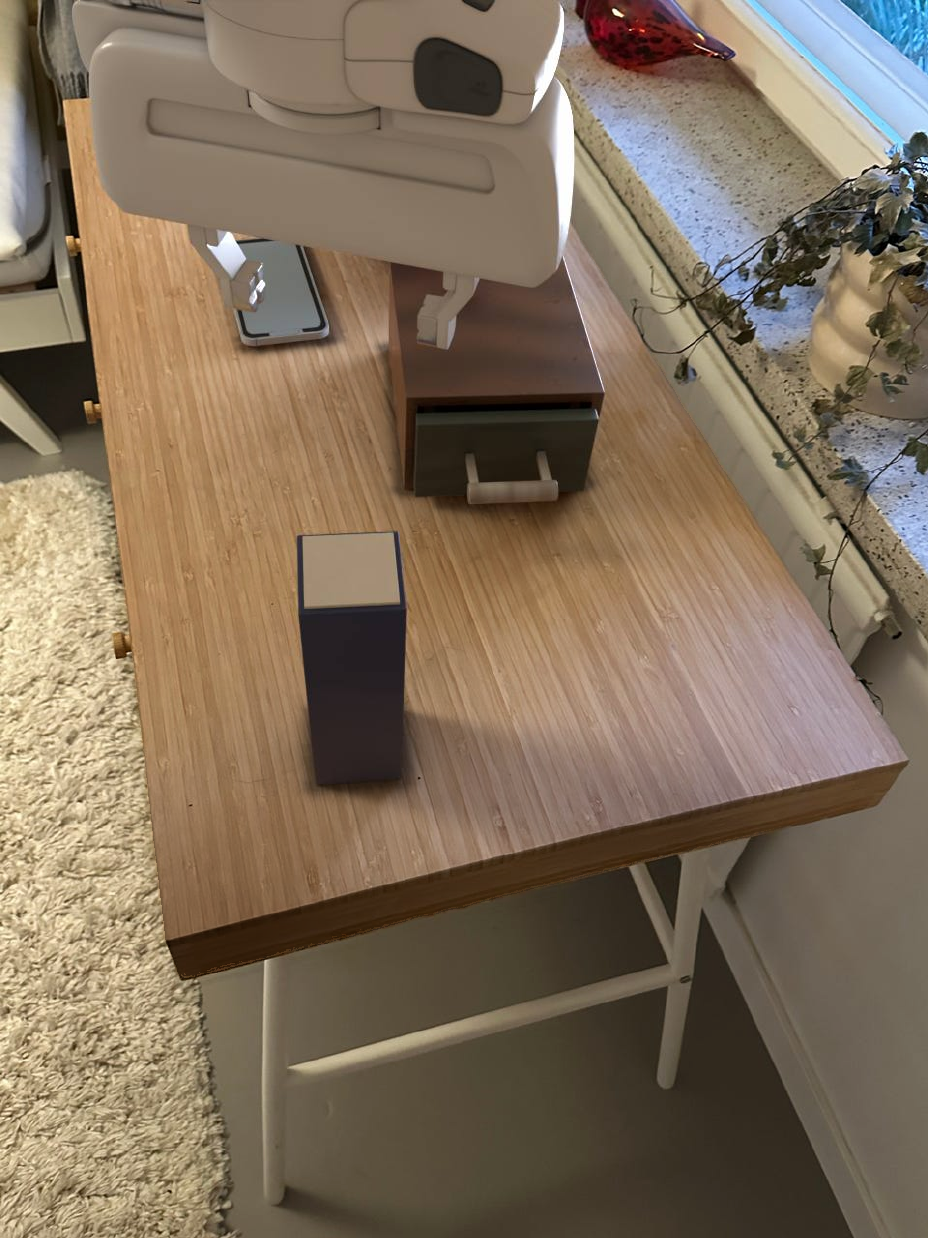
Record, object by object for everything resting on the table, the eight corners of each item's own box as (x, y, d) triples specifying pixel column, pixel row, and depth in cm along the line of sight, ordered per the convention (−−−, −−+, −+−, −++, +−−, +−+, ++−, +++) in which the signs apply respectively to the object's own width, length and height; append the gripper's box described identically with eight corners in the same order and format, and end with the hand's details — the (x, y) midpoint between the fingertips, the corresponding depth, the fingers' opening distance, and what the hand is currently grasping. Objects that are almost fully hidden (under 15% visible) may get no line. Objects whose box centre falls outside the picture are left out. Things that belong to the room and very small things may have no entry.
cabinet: (585, 483, 76) (605, 392, 69) (404, 490, 75) (406, 397, 68) (548, 345, 86) (563, 254, 80) (388, 348, 85) (388, 255, 78)
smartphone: (299, 233, 93) (331, 330, 84) (299, 242, 94) (332, 339, 85) (217, 241, 91) (241, 340, 82) (218, 249, 92) (242, 349, 83)
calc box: (315, 785, 59) (297, 612, 46) (313, 713, 62) (296, 531, 49) (401, 779, 60) (407, 606, 47) (395, 708, 63) (398, 527, 50)
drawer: (595, 534, 72) (612, 463, 66) (419, 542, 70) (422, 469, 65) (548, 357, 84) (560, 285, 78) (398, 360, 82) (399, 287, 77)
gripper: (20, -6, 37) (105, 319, 48) (578, 85, 35) (534, 403, 45) (98, -67, 40) (161, 247, 51) (605, 12, 38) (558, 321, 49)
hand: (339, 321), depth 48 cm, fingers open, 8 cm apart
